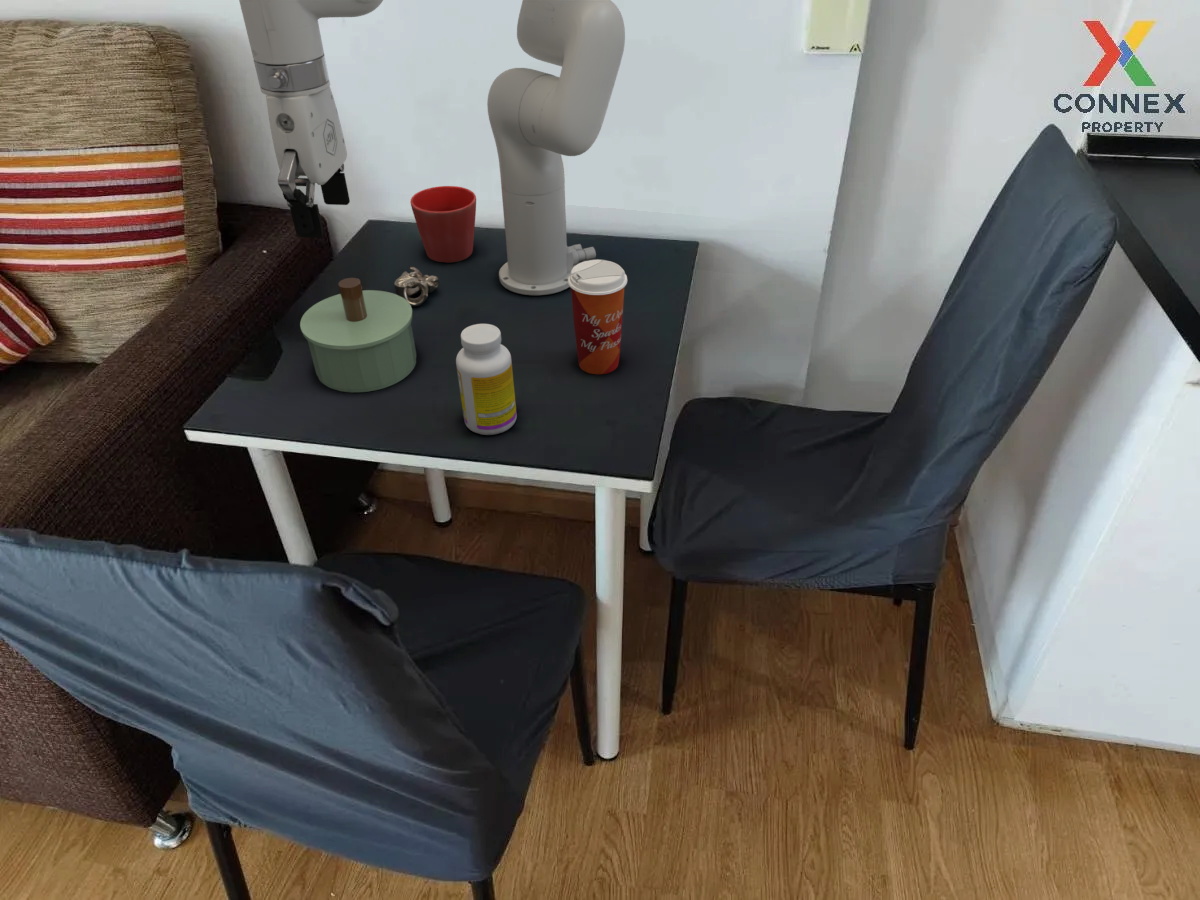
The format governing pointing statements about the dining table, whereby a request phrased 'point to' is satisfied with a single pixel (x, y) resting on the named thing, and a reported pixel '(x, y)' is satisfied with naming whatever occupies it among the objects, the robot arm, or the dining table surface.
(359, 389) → the pot
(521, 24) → the robot arm
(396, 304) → the pot lid
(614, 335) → the paper cup
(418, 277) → the ornament
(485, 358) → the supplement bottle
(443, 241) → the flower pot
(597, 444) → the dining table surface
